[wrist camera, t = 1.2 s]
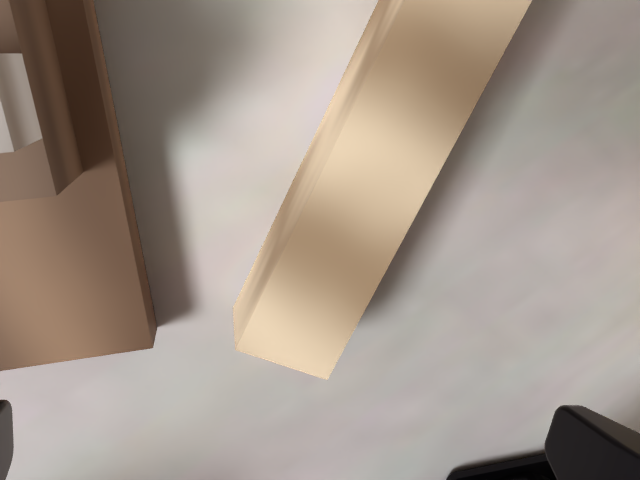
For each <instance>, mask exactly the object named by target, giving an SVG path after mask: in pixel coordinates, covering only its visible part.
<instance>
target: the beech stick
mask: <svg viewBox="0 0 640 480" xmlns="http://www.w3.org/2000/svg"><path fill="white" fill-rule="evenodd" d="M531 2H532V0H379V1H378V3H377V5H376V7H375V9H374V11H373V13H372V16H371V18H370V20H369V22H368V24H367V26H366V28H365V30H364V32H363V35H362V37H361V39H360V41H359V43H358V45H357V47H356V49H355V51H354V53H353V56H352V58H351V60H350V62H349V64H348V66H347V68H346V70H345V72H344V75H343V77H342V79H341V81H340V83H339V85H338V87H337V89H336V91H335V94H334V96H333V98H332V100H331V102H330V104H329V106H328V108H327V110H326V113H325V115H324V117H323V119H322V121H321V123H320V125H319V127H318V129H317V132H316V134H315V136H314V138H313V140H312V142H311V144H310V146H309V148H308V151H307V153H306V155H305V157H304V159H303V161H302V163H301V165H300V167H299V169H298V172H297V174H296V176H295V178H294V180H293V182H292V184H291V186H290V188H289V191H288V193H287V195H286V197H285V199H284V201H283V203H282V205H281V207H280V210H279V212H278V214H277V216H276V218H275V220H274V222H273V224H272V226H271V229H270V231H269V233H268V235H267V237H266V239H265V241H264V243H263V245H262V248H261V250H260V252H259V254H258V256H257V258H256V260H255V262H254V264H253V267H252V269H251V271H250V273H249V275H248V277H247V279H246V281H245V283H244V286H243V288H242V290H241V292H240V294H239V296H238V298H237V300H236V302H235V304H234V307H233V319H234V336H235V350H237V351H240V352H243V353H246V354H249V355H252V356H255V357H258V358H261V359H264V360H268V361H271V362H274V363H277V364H280V365H283V366H286V367H289V368H292V369H295V370H298V371H301V372H304V373H307V374H310V375H313V376H316V377H319V378H323V379H326V380H327V379H328V378H329V376H330V374H331V372H332V370H333V368H334V367H335V365H336V363H337V361H338V359H339V357H340V355H341V354H342V352H343V350H344V348H345V346H346V344H347V342H348V341H349V339H350V337H351V335H352V333H353V331H354V329H355V328H356V326H357V324H358V322H359V320H360V318H361V317H362V315H363V313H364V311H365V309H366V307H367V305H368V304H369V302H370V300H371V298H372V296H373V294H374V292H375V291H376V289H377V287H378V285H379V283H380V281H381V279H382V278H383V276H384V274H385V272H386V270H387V268H388V266H389V265H390V263H391V261H392V259H393V257H394V255H395V254H396V252H397V250H398V248H399V246H400V244H401V242H402V241H403V239H404V237H405V235H406V233H407V231H408V229H409V228H410V226H411V224H412V222H413V220H414V218H415V216H416V215H417V213H418V211H419V209H420V207H421V205H422V203H423V202H424V200H425V198H426V196H427V194H428V192H429V191H430V189H431V187H432V185H433V183H434V181H435V179H436V178H437V176H438V174H439V172H440V170H441V168H442V166H443V165H444V163H445V161H446V159H447V157H448V155H449V153H450V152H451V150H452V148H453V146H454V144H455V142H456V141H457V139H458V137H459V135H460V133H461V131H462V129H463V128H464V126H465V124H466V122H467V120H468V118H469V116H470V115H471V113H472V111H473V109H474V107H475V105H476V103H477V102H478V100H479V98H480V96H481V94H482V92H483V90H484V89H485V87H486V85H487V83H488V81H489V79H490V78H491V76H492V74H493V72H494V70H495V68H496V66H497V65H498V63H499V61H500V59H501V57H502V55H503V53H504V52H505V50H506V48H507V46H508V44H509V42H510V40H511V39H512V37H513V35H514V33H515V31H516V29H517V28H518V26H519V24H520V22H521V20H522V18H523V16H524V15H525V13H526V11H527V9H528V7H529V5H530V3H531Z"/></svg>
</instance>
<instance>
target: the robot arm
mask: <svg viewBox="0 0 640 480" xmlns="http://www.w3.org/2000/svg"><path fill="white" fill-rule="evenodd" d="M545 453H546V454H543V455H538V456H533V457H528V458H523V459H518V460H513V461H508V462H503V463H498V464H493V465H488V466H483V467H478V468H473V469H468V470H463V471H458V472H454V473H452V474H450V475H449V476H448V478H447V479H446V480H640V434H639V433H637V432H635V431H633V430H631V429H629V428H627V427H625V426H623V425H621V424H619V423H617V422H615V421H613V420H611V419H608V418H606V417H604V416H602V415H600V414H598V413H596V412H594V411H592V410H590V409H588V408H586V407H583V406H579V405H563V406H560V407H558V409H557V410H556V411H555V413H554V416H553V419H552V423H551V426H550V429H549V432H548V435H547V438H546V441H545ZM12 457H13V421H12V407H11V404H10V402H9V401H7V400H0V480H6V477H7V474H8V471H9V468H10V465H11V461H12Z"/></svg>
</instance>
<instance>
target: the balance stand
mask: <svg viewBox="0 0 640 480" xmlns="http://www.w3.org/2000/svg"><path fill="white" fill-rule="evenodd" d="M156 331H157V325H156V319H155V314H154V309H153V304H152V299H151V294H150V289H149V284H148V278H147V273H146V268H145V263H144V258H143V253H142V248H141V242H140V237H139V232H138V227H137V222H136V217H135V212H134V207H133V201H132V196H131V191H130V186H129V181H128V176H127V171H126V166H125V160H124V155H123V150H122V145H121V140H120V135H119V130H118V124H117V119H116V114H115V109H114V104H113V99H112V94H111V89H110V83H109V78H108V73H107V68H106V63H105V58H104V53H103V48H102V42H101V37H100V32H99V27H98V22H97V17H96V12H95V6H94V1H93V0H0V371H3V370H10V369H16V368H23V367H30V366H36V365H43V364H50V363H56V362H63V361H70V360H76V359H83V358H90V357H96V356H103V355H110V354H116V353H123V352H130V351H136V350H143V349H150V348H153V345H154V340H155V335H156Z"/></svg>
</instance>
